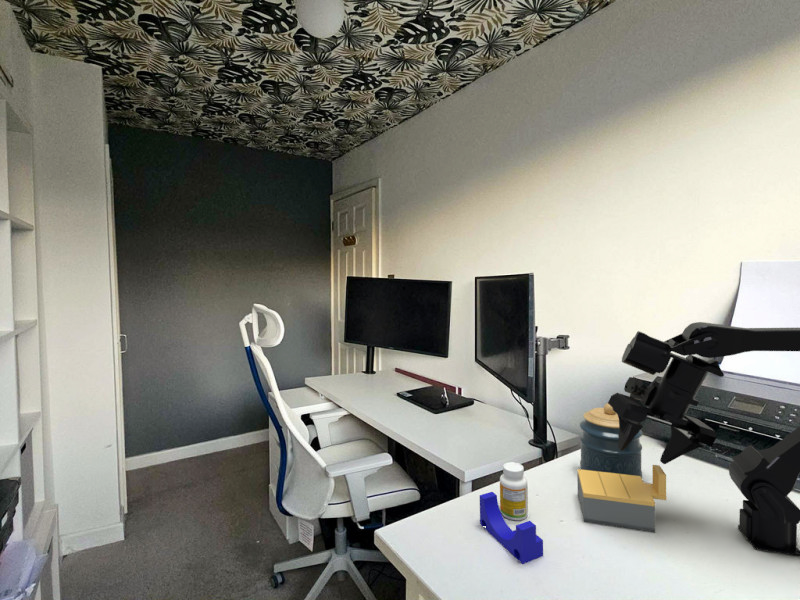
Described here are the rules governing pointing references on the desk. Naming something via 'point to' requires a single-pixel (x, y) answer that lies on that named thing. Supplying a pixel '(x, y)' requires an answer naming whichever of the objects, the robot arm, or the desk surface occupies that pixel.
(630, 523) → the parts tub
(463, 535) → the desk surface
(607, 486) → the snap lid
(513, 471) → the supplement bottle
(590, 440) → the canister
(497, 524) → the blue semicircular mounting bracket
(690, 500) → the desk surface
